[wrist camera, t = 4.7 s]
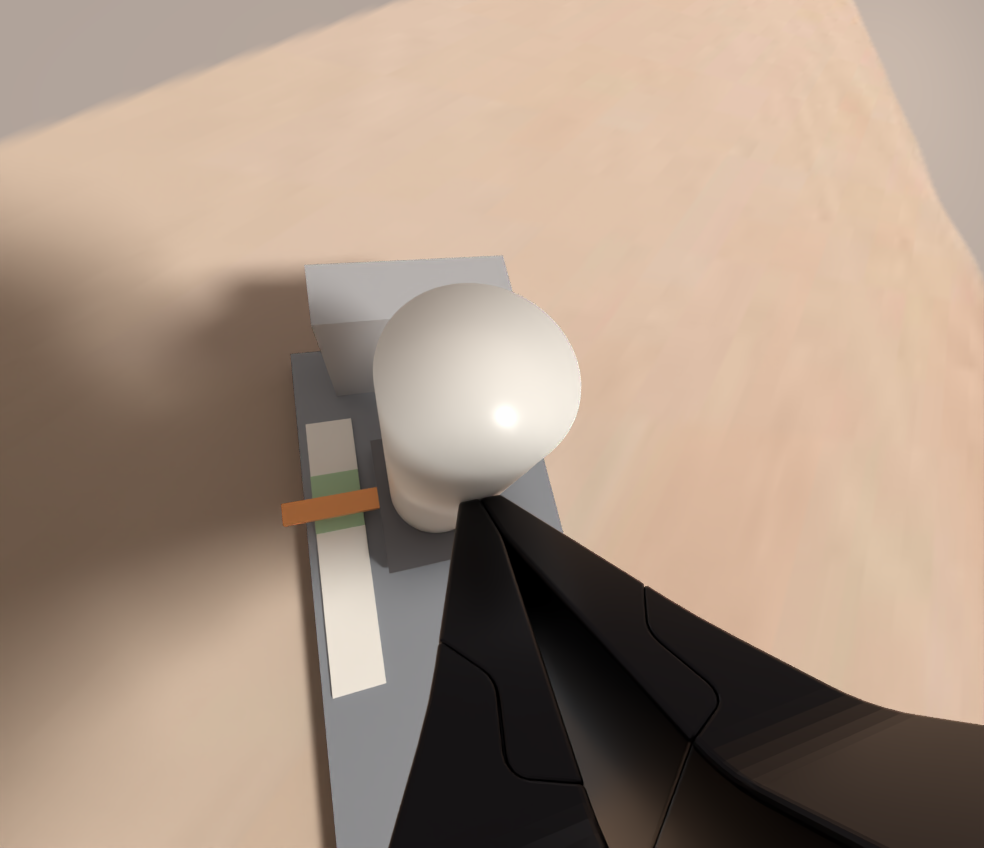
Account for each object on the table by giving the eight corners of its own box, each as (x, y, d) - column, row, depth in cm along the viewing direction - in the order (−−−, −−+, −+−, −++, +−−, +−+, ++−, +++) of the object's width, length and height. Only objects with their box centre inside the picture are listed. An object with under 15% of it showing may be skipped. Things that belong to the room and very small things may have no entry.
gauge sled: (502, 547, 15) (648, 508, 6) (294, 596, 14) (75, 638, 4) (476, 430, 17) (566, 257, 8) (283, 460, 15) (96, 281, 6)
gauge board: (627, 810, 14) (762, 950, 9) (350, 930, 12) (307, 1213, 7) (506, 341, 19) (545, 253, 14) (295, 363, 17) (246, 267, 12)
